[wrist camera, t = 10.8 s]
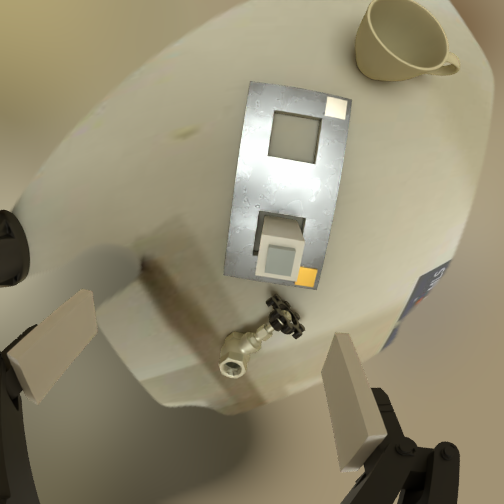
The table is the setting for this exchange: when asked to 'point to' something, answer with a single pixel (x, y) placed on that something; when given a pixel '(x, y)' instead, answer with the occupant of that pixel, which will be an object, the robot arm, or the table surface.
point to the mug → (402, 42)
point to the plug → (280, 249)
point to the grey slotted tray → (286, 179)
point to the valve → (257, 338)
